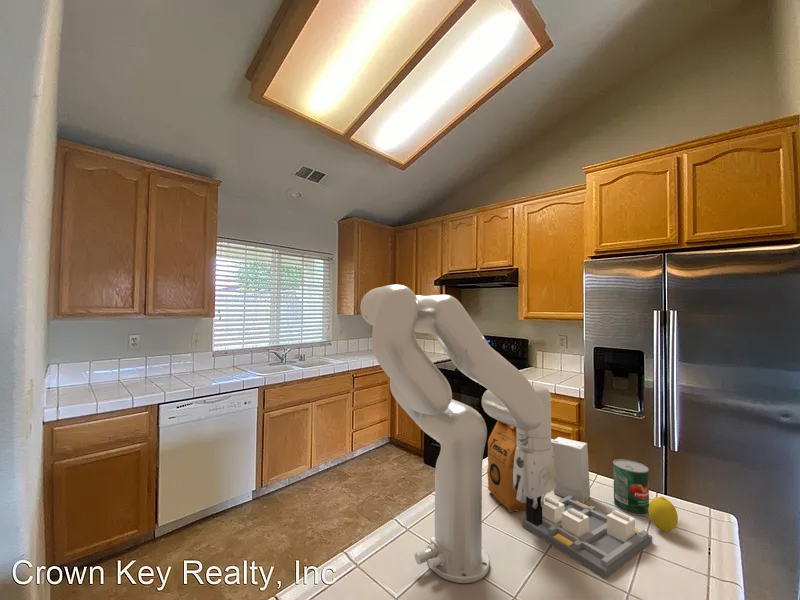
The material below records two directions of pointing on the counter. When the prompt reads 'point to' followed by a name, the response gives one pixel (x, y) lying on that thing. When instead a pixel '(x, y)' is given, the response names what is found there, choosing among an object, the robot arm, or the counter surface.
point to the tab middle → (575, 522)
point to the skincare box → (571, 469)
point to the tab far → (552, 510)
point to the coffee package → (503, 465)
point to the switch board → (591, 540)
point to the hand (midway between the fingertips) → (534, 522)
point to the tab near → (620, 526)
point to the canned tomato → (631, 487)
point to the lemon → (663, 514)
